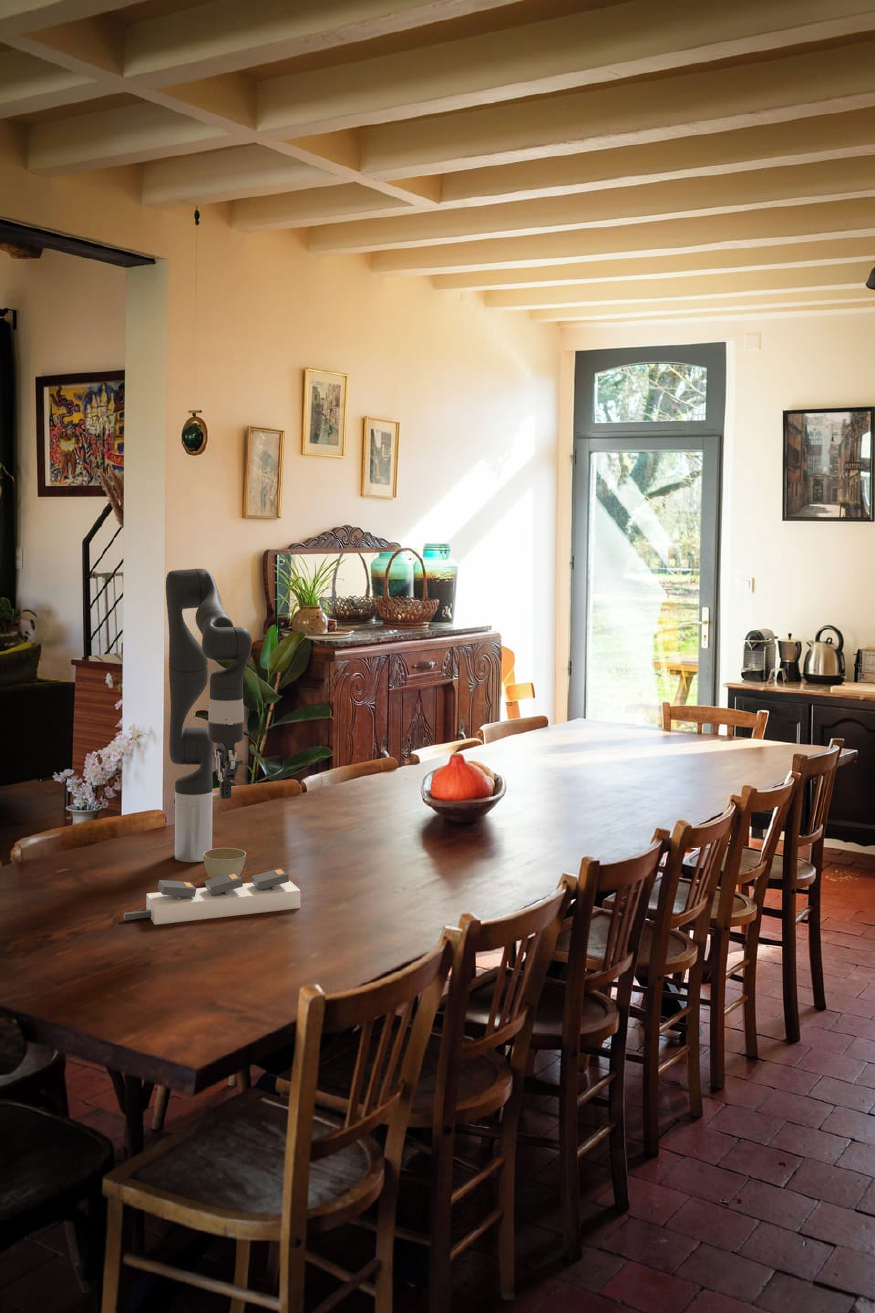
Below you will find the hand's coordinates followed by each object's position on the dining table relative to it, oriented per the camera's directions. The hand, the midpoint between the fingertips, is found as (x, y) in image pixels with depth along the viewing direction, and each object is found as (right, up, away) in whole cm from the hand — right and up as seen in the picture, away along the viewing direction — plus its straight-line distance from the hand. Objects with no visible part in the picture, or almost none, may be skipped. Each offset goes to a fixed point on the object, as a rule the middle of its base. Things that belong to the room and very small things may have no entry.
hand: (225, 798), depth 254 cm
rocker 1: (-10, -20, -2) cm, 22 cm away
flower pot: (-4, -23, +22) cm, 32 cm away
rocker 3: (+9, -20, +7) cm, 22 cm away
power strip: (-3, -25, +2) cm, 25 cm away
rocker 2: (-1, -20, +2) cm, 20 cm away
